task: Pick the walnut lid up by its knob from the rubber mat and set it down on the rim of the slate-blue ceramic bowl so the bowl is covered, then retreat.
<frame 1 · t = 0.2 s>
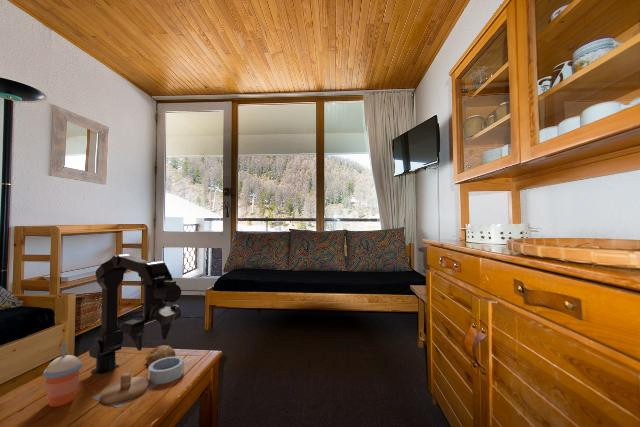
hand: (152, 344, 97), 14 cm above the table, fingers open, 9 cm apart
bowl: (166, 376, 103), on the table
bread roll: (160, 362, 114), on the table
mat: (125, 392, 93), on the table
cup with straw: (62, 402, 89), on the table
lid: (125, 391, 93), resting on mat
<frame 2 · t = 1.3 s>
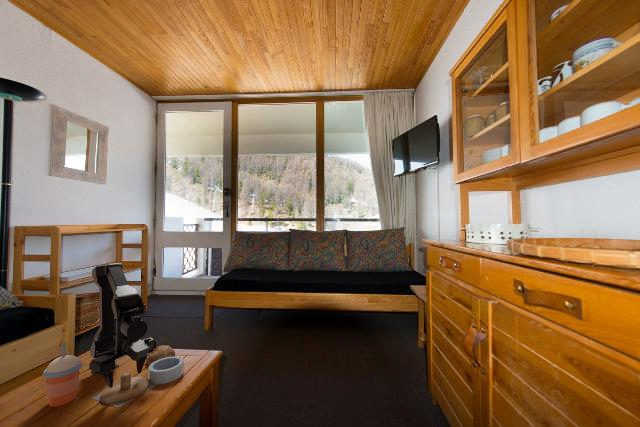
hand: (125, 379, 93), 4 cm above the table, fingers open, 9 cm apart
nothing on the table moved.
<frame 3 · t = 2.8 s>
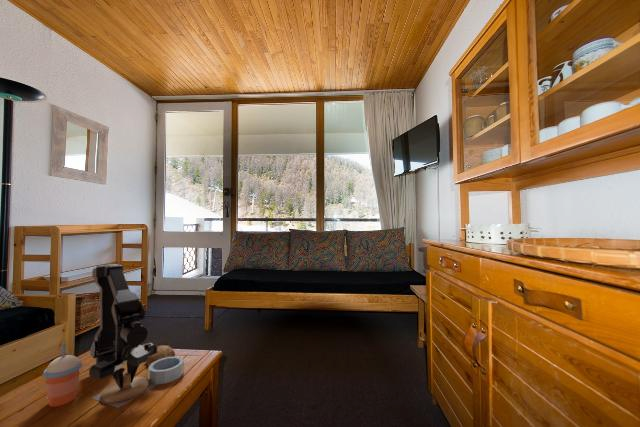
hand: (125, 385, 93), 2 cm above the table, fingers closed on lid, 3 cm apart
lid: (125, 391, 93), resting on mat, touching gripper
everything else where it was.
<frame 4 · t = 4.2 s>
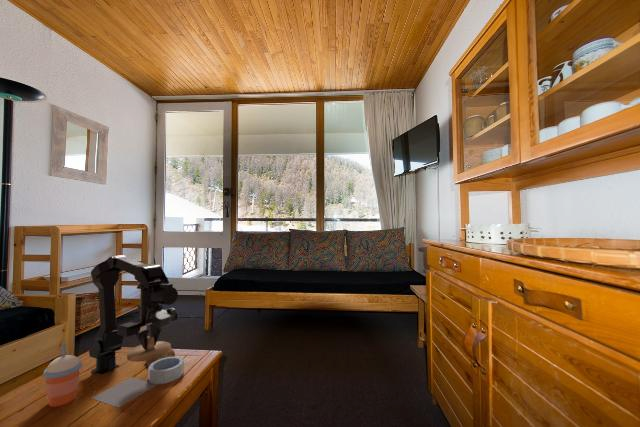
hand: (149, 347, 99), 12 cm above the table, fingers closed on lid, 3 cm apart
lid: (149, 352, 99), point 11 cm above the table, touching gripper
everything else where it was.
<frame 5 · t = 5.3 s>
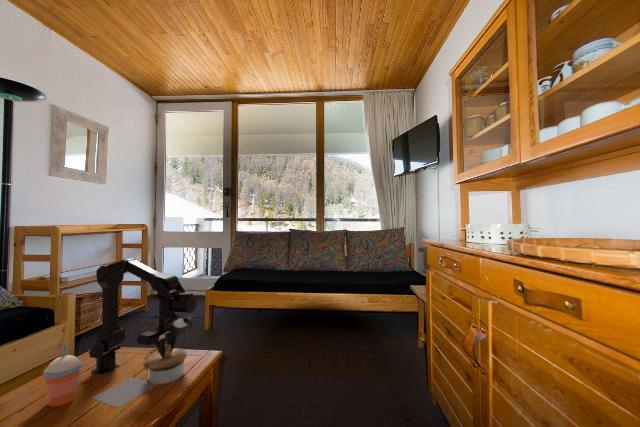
hand: (166, 354, 103), 8 cm above the table, fingers closed on lid, 3 cm apart
lid: (166, 359, 103), point 6 cm above the table, touching gripper
everything else where it was.
when the fingers open (7 cm above the table, at t = 6.0 s): lid stays where it is, resting on bowl.
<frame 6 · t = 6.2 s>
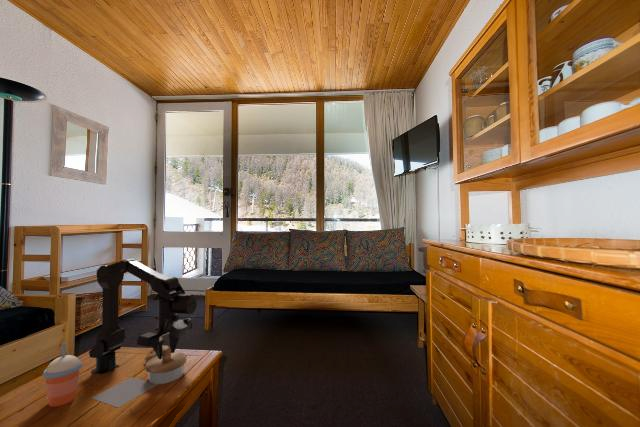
hand: (166, 355, 103), 7 cm above the table, fingers open, 5 cm apart
lid: (166, 363, 103), point 4 cm above the table, touching bowl
everything else where it was.
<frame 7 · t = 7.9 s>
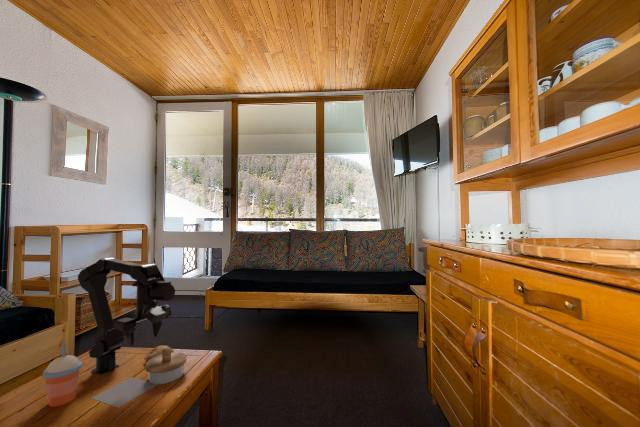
hand: (143, 341, 105), 12 cm above the table, fingers open, 9 cm apart
nothing on the table moved.
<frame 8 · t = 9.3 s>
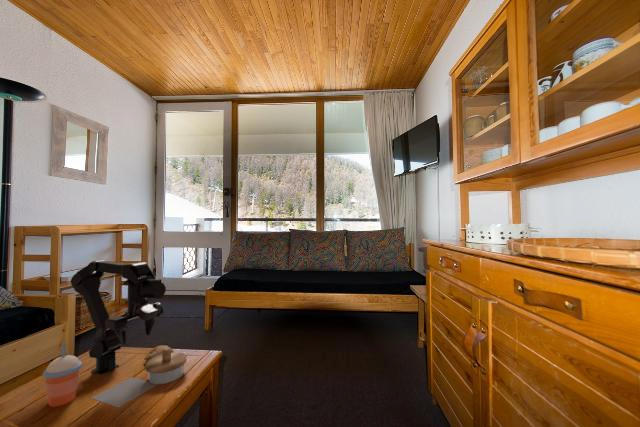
hand: (136, 339, 105), 13 cm above the table, fingers open, 9 cm apart
nothing on the table moved.
at the end: lid 0.0 cm off-centre on the bowl, point 4.5 cm above the bowl's base; lid tilted 0°; the gripper is holding nothing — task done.
